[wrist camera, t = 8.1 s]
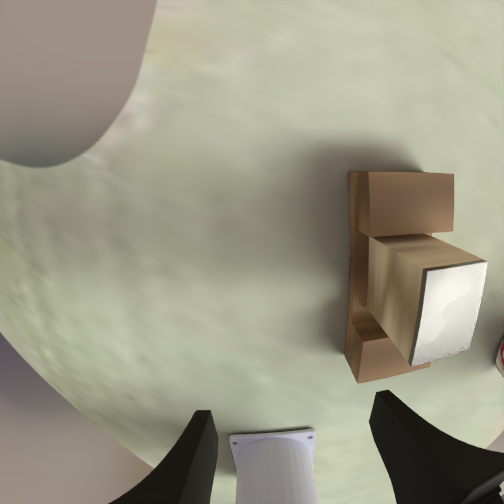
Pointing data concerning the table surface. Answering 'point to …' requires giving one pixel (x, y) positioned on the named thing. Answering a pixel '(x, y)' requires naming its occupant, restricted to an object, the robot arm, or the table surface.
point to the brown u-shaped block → (387, 224)
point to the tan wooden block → (424, 294)
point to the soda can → (500, 359)
